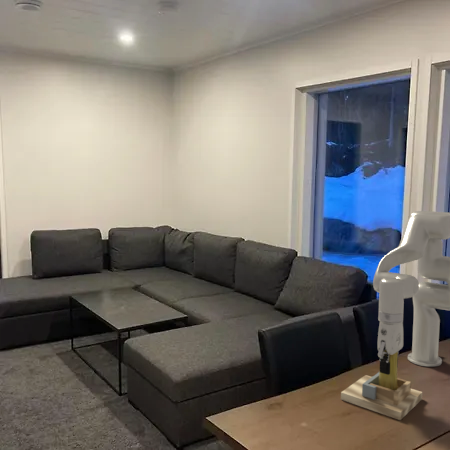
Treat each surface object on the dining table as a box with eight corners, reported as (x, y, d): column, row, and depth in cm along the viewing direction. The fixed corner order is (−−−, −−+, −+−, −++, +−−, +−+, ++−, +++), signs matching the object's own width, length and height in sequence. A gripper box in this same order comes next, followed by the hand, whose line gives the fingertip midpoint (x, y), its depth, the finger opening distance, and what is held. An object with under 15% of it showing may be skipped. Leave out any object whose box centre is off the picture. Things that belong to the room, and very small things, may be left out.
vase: (400, 394, 156) (402, 351, 154) (381, 394, 156) (382, 351, 154) (394, 386, 162) (395, 344, 160) (375, 385, 162) (377, 344, 160)
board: (365, 381, 174) (366, 364, 173) (422, 399, 160) (422, 380, 160) (340, 399, 160) (341, 380, 160) (400, 420, 147) (401, 400, 146)
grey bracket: (381, 381, 168) (381, 370, 167) (393, 384, 165) (393, 373, 164) (362, 395, 157) (362, 383, 156) (374, 399, 154) (374, 387, 154)
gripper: (391, 325, 147) (388, 382, 149) (412, 312, 159) (410, 365, 162) (367, 320, 152) (365, 375, 154) (390, 308, 164) (388, 359, 167)
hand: (388, 369), depth 158 cm, fingers closed on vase, 5 cm apart
